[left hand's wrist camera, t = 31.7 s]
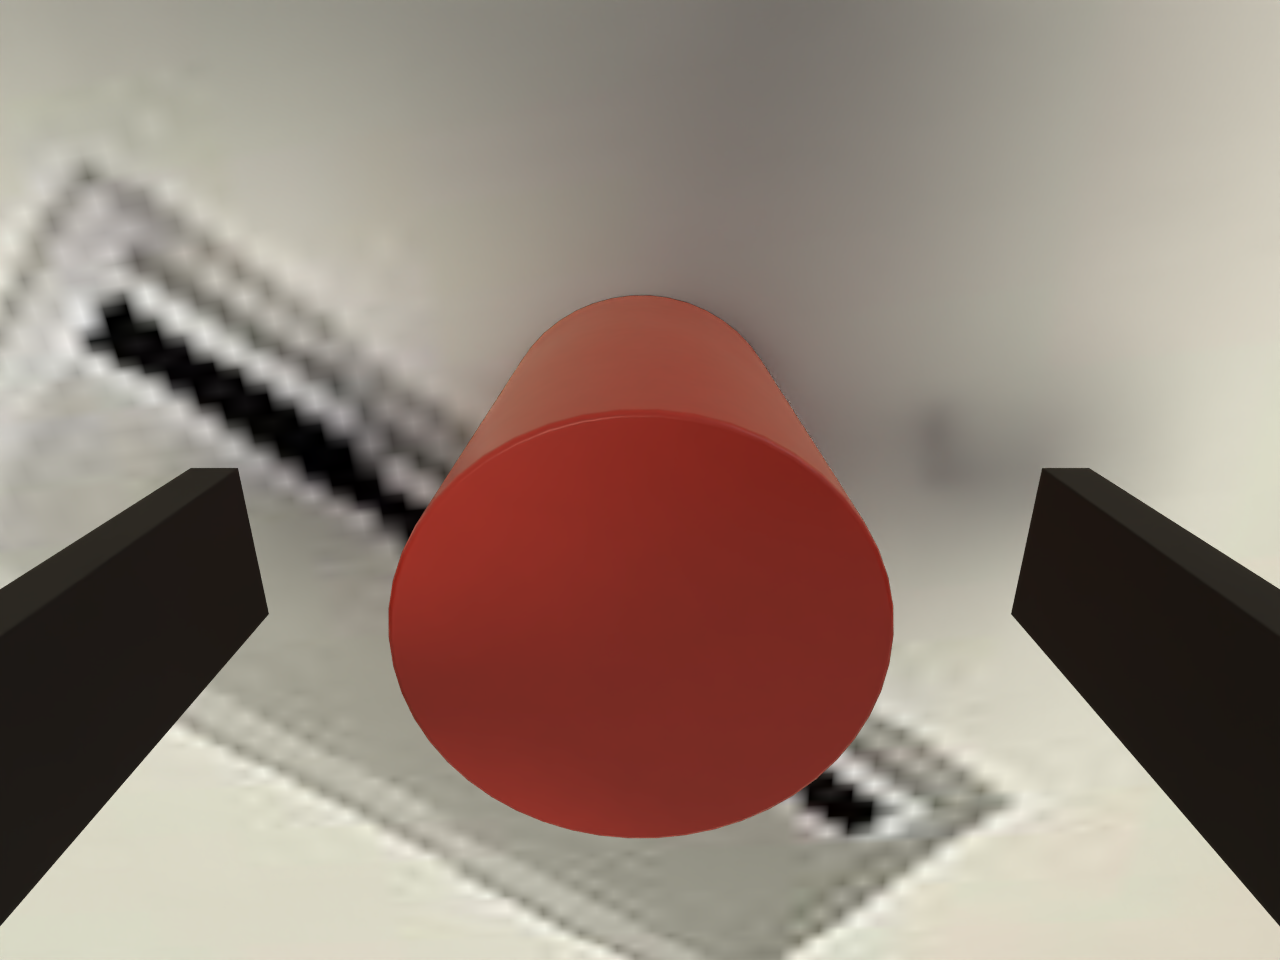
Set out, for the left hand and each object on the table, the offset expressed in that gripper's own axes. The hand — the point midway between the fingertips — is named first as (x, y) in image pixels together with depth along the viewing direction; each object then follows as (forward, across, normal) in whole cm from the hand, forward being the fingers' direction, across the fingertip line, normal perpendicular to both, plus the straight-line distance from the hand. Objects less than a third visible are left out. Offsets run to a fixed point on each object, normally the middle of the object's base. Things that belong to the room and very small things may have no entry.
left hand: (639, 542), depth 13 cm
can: (+5, 0, 0) cm, 5 cm away
